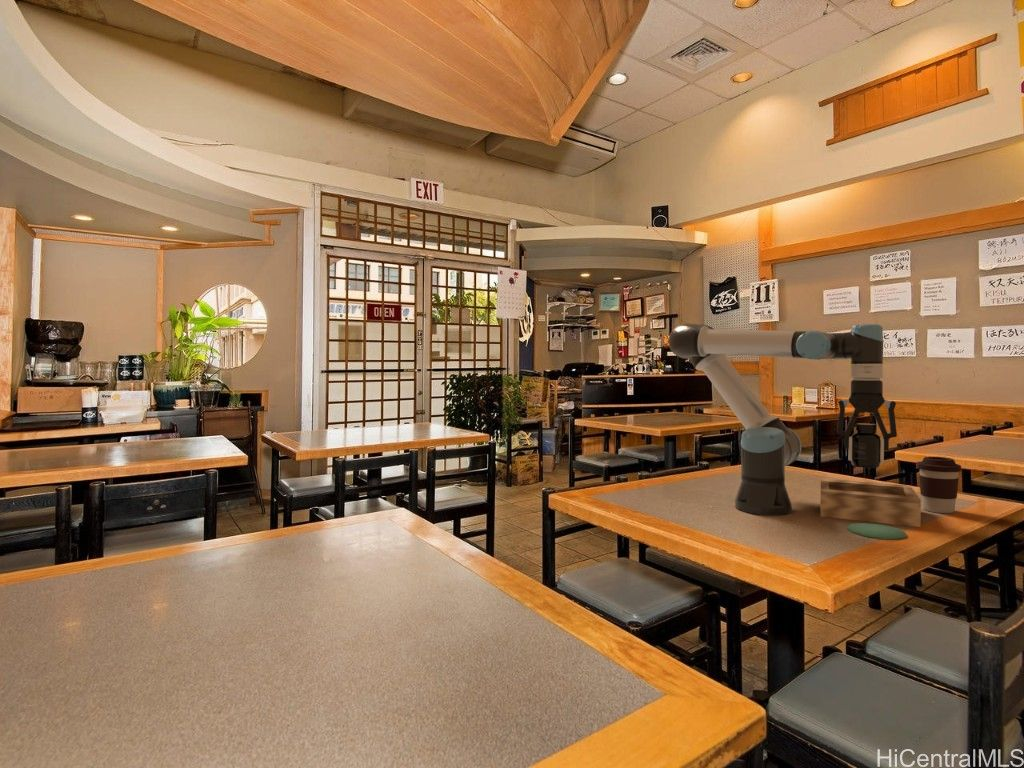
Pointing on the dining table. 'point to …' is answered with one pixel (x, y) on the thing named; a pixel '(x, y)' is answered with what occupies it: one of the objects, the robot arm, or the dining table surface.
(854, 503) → the cover box
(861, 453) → the supplement bottle
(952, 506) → the coffee cup
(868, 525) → the mat
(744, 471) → the robot arm
